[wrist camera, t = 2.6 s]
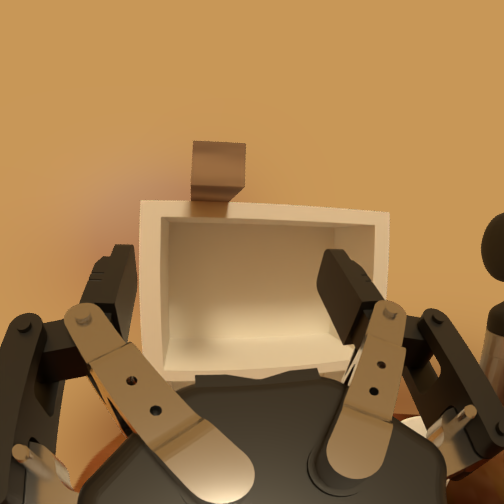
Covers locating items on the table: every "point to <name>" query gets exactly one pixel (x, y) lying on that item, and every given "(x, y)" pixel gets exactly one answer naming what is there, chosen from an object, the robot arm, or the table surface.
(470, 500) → the table surface
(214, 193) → the walnut bar
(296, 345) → the off-white shelf
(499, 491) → the table surface
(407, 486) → the robot arm
